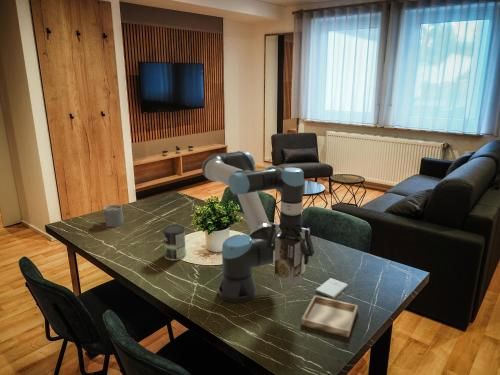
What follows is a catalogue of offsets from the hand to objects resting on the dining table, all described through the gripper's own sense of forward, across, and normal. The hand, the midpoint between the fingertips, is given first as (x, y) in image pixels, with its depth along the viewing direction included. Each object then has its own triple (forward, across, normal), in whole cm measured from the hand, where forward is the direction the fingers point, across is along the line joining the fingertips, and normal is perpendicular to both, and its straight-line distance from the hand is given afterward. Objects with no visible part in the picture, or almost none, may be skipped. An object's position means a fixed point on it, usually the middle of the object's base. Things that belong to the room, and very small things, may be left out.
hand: (289, 268), depth 144 cm
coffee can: (+17, -64, +18) cm, 68 cm away
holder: (+16, +16, 0) cm, 23 cm away
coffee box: (+4, 0, 0) cm, 4 cm away
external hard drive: (+17, +12, +20) cm, 29 cm away
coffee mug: (+18, -122, +38) cm, 129 cm away
